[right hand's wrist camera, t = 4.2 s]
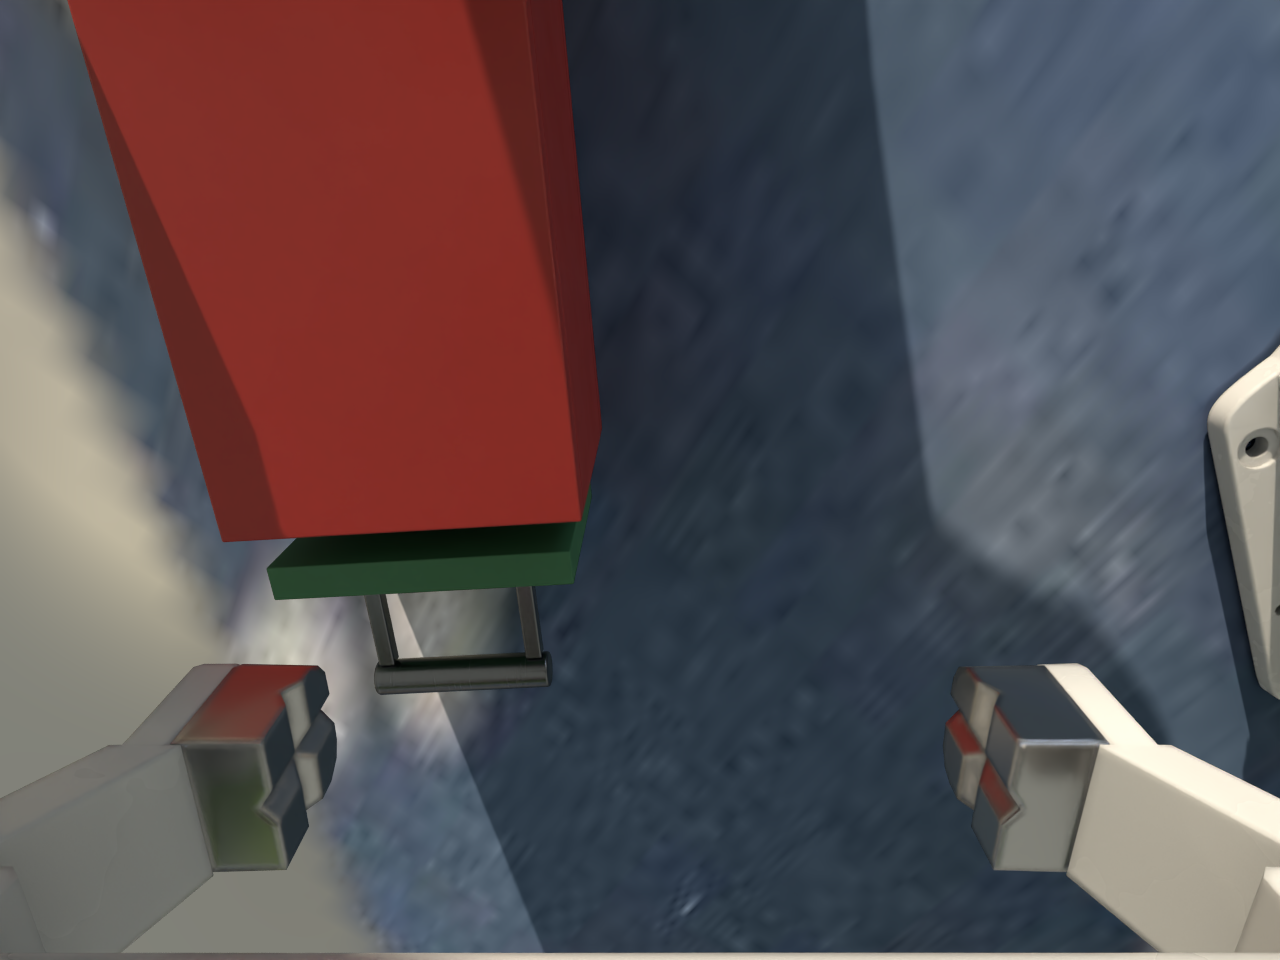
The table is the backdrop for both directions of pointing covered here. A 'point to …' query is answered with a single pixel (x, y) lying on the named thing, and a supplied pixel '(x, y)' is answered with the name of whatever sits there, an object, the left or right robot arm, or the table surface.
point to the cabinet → (360, 253)
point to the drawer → (439, 567)
